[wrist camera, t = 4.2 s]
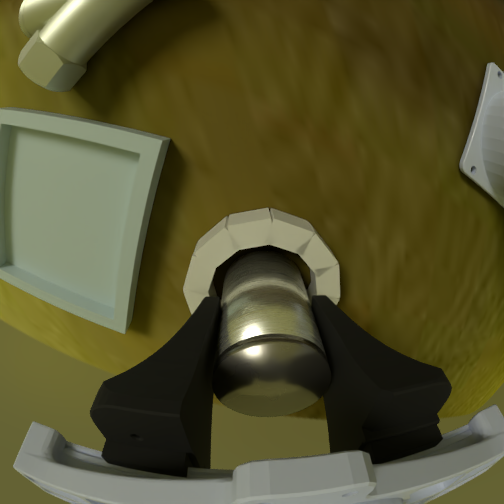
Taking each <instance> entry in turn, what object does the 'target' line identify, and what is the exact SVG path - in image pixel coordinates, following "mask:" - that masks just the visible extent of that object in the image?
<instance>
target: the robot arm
mask: <svg viewBox="0 0 504 504" xmlns="http://www.w3.org/2000/svg"><path fill="white" fill-rule="evenodd" d="M459 165H460V170H461V171H462V173H464V174H465V175H466V176H467V177H469V178H470V179H471V180H472V181H474V182H475V183H476V184H477V185H478V186H480V187H481V188H482V189H483V190H484V191H485V192H487V193H488V194H489V195H490V196H491V197H492V198H493V199H494V200H496V201H497V202H498V203H499V204H500V205H501V206H502V207H503V208H504V73H503V72H502V71H501V70H500V68H499V67H498V66H497V65H496V64H495V63H488V64H487V68H486V73H485V78H484V83H483V87H482V91H481V95H480V99H479V103H478V107H477V111H476V114H475V118H474V121H473V124H472V128H471V131H470V134H469V137H468V140H467V143H466V146H465V149H464V152H463V155H462V157H461V160H460V164H459ZM471 168H472V172H471ZM311 308H312V311H313V314H314V318H315V321H316V324H317V327H318V330H319V334H320V337H321V340H322V344H323V347H324V350H325V354H326V357H327V361H328V364H329V367H330V371H331V381H330V384H329V387H328V389H327V390H326V392H325V393H324V394H323V397H324V403H325V409H326V416H327V423H328V432H329V443H330V453H328V454H321V455H313V456H303V457H292V458H278V459H264V460H255V461H250V462H247V463H244V464H241V465H239V466H238V467H236V469H235V470H221V469H220V470H219V469H210V454H211V424H212V405H213V394H214V392H213V389H212V376H213V367H214V359H215V350H216V341H217V333H218V325H219V316H220V297H214V296H206V297H204V298H203V300H202V301H201V303H200V304H199V306H198V307H197V309H196V310H195V311H194V313H193V314H192V315H191V317H190V318H189V319H188V320H187V322H186V323H185V324H184V325H183V326H182V328H181V329H180V330H179V331H178V332H177V333H176V334H175V335H174V336H173V337H172V338H171V339H170V340H169V341H168V342H167V343H166V344H165V345H164V346H163V347H161V348H160V349H159V350H158V351H157V352H155V353H154V354H153V355H151V356H150V357H148V358H147V359H146V360H144V361H143V362H141V363H139V364H138V365H136V366H134V367H133V368H131V369H129V370H127V371H125V372H123V373H121V374H119V375H117V376H115V377H113V378H110V379H108V380H106V381H104V382H103V384H102V385H101V387H100V389H99V391H98V393H97V395H96V398H95V400H94V402H93V405H92V407H91V410H90V416H91V418H92V420H93V422H94V423H95V425H96V426H97V427H98V429H99V430H100V431H101V433H102V434H103V435H104V437H105V438H106V442H105V445H104V448H103V451H102V452H101V451H97V450H94V449H90V448H87V447H83V446H80V445H77V444H74V443H71V442H68V441H66V440H65V438H64V437H63V436H62V435H61V434H60V433H59V432H58V431H56V430H55V429H52V428H50V427H47V426H44V425H42V424H39V423H37V422H32V425H31V427H30V429H29V431H28V433H27V435H26V438H25V439H24V442H23V444H22V446H21V449H20V451H19V453H18V456H17V458H16V460H15V463H14V466H13V467H14V469H16V470H17V471H18V472H19V473H21V474H22V475H23V476H25V477H26V478H27V479H29V480H30V481H31V482H33V483H34V484H35V485H37V486H38V487H40V488H41V489H42V490H44V491H45V492H47V493H49V494H51V495H53V496H56V497H58V498H60V499H62V500H65V501H67V502H69V503H71V504H425V503H427V502H429V501H431V500H433V499H435V498H438V497H440V496H441V495H444V494H446V493H448V492H450V491H451V490H453V489H455V488H457V487H459V486H461V485H463V484H465V483H466V482H468V481H470V480H472V479H473V478H475V477H477V476H479V475H480V474H482V473H484V472H485V471H487V470H488V469H489V468H490V467H491V466H493V465H494V464H495V463H496V462H498V461H499V460H500V459H501V458H502V457H503V456H504V417H503V416H502V414H501V412H500V410H499V409H498V407H497V405H492V406H490V407H488V408H486V409H484V410H482V411H480V412H478V413H477V414H476V415H475V416H474V417H473V418H472V419H471V420H470V422H469V423H468V424H467V425H465V426H463V427H460V428H458V429H455V430H453V431H450V432H448V433H445V434H443V435H441V433H440V430H439V428H438V426H437V424H438V423H439V421H440V419H439V417H438V415H437V413H438V412H439V410H440V409H441V408H442V406H443V405H444V403H445V402H446V401H447V399H448V397H449V395H450V393H451V389H452V387H451V384H450V382H449V380H448V379H447V377H446V375H445V374H444V372H443V371H442V369H441V368H438V367H434V366H431V365H428V364H425V363H422V362H419V361H417V360H414V359H412V358H409V357H407V356H405V355H403V354H401V353H399V352H397V351H395V350H393V349H391V348H390V347H388V346H386V345H385V344H383V343H381V342H380V341H378V340H377V339H375V338H374V337H372V336H371V335H370V334H368V333H367V332H366V331H364V330H363V329H362V328H361V327H359V326H358V325H357V324H356V323H355V322H354V321H352V320H351V319H350V318H349V317H348V316H347V315H346V314H345V313H344V312H343V311H342V310H341V309H340V308H338V307H337V306H336V305H335V304H334V303H333V302H332V301H331V300H330V299H329V298H328V297H327V296H326V295H312V302H311Z"/></svg>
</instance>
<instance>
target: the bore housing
mask: <svg viewBox="0 0 504 504" xmlns="http://www.w3.org/2000/svg"><path fill="white" fill-rule="evenodd" d="M265 245H272V246H275V247H279V248H282V249H285V250H288V251H291V252H294V253H297V254H299V255H300V257H301V258H302V259H303V260H304V261H305V262H306V264H307V265H308V266H309V267H310V274H311V283H310V285H309V287H308V289H307V291H306V292H307V295H308V298H309V302H310V305H311V302H312V295H326V296H327V297H328V298H329V299H330V300H331V301H332V302H333V303H334V304H335V305H337V303H338V302H339V300H340V299H339V298H340V274H339V264H338V261H337V260H336V258H335V256H334V255H333V253H332V251H331V250H330V248H329V247H328V246H327V244H326V243H325V242H324V240H323V239H322V238H321V237H320V235H319V234H318V233H317V231H316V230H315V229H314V228H313V226H312V225H311V224H310V223H308V221H307V220H304V219H301V218H298V217H296V216H293V215H290V214H287V213H284V212H282V211H279V210H276V209H273V208H271V210H270V212H269V208H264V209H258V210H252V211H247V212H241V213H236V214H231V215H229V217H228V216H226V217H225V218H224V219H223V220H221V221H220V222H219V223H218V224H217V225H216V226H214V227H213V228H212V229H211V230H210V231H209V232H207V233H206V234H205V235H204V236H203V237H202V238H200V239H199V241H198V242H197V245H196V248H195V250H194V253H193V255H192V259H191V262H190V266H189V269H188V273H187V277H186V280H185V284H184V288H183V289H184V290H183V292H184V295H185V298H186V300H187V303H188V306H189V309H190V312H191V314H193V313H194V311H195V310H196V309H197V307H198V306H199V304H200V303H201V301H202V300H203V298H204V297H206V296H214V297H217V293H216V290H215V287H214V283H213V280H212V278H213V275H214V272H215V269H216V268H217V267H218V266H219V265H220V264H222V263H223V262H224V261H225V260H227V259H228V258H229V257H231V256H232V255H233V254H234V253H236V252H237V251H238V250H242V249H247V248H253V247H259V246H265ZM220 308H221V300H220Z"/></svg>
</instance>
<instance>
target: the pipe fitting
mask: <svg viewBox="0 0 504 504" xmlns="http://www.w3.org/2000/svg"><path fill="white" fill-rule="evenodd" d="M152 1H153V0H24V1H23V3H22V5H21V7H20V11H19V24H20V27H21V30H22V31H23V33H24V34H25V35H26V36H27V37H29V38H31V39H30V40H29V41H28V43H27V44H26V45H25V47H24V48H23V49H22V51H21V53H20V56H19V59H18V66H19V67H20V69H21V70H22V72H23V73H24V74H25V75H26V76H27V77H28V78H29V79H30V80H32V81H33V82H35V83H36V84H38V85H39V86H41V87H43V88H46V89H48V90H51V91H56V92H64V91H70V90H71V89H72V87H73V86H74V85H75V84H76V82H77V81H78V80H79V79H80V78H81V77H82V75H83V74H84V73H85V72H86V71H87V62H88V61H89V60H90V58H91V57H92V56H93V55H94V54H95V53H96V52H97V51H98V50H99V49H100V48H101V47H102V46H103V45H104V44H105V43H106V42H107V41H108V40H109V39H110V38H111V37H112V36H113V35H114V34H115V33H116V32H117V31H118V30H119V29H120V28H121V27H123V26H124V25H125V24H126V23H127V22H128V21H129V20H130V19H131V18H133V17H134V16H135V15H136V14H137V13H138V12H140V11H141V10H142V9H143V8H144V7H146V6H147V5H148V4H149V3H151V2H152Z"/></svg>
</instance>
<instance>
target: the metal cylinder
mask: <svg viewBox="0 0 504 504" xmlns="http://www.w3.org/2000/svg"><path fill="white" fill-rule="evenodd" d="M330 381H331V371H330V367H329V364H328V361H327V357H326V354H325V350H324V347H323V344H322V340H321V337H320V334H319V330H318V327H317V324H316V321H315V318H314V314H313V311H312V308H311V305H310V302H309V298H308V295H307V292H306V289H305V286H304V283H303V280H302V277H301V274H300V271H299V269H298V267H297V266H296V264H295V263H294V262H293V261H292V260H291V259H289V258H288V257H287V256H285V255H283V254H281V253H278V252H274V251H269V250H260V251H254V252H250V253H247V254H245V255H243V256H241V257H240V258H238V259H237V260H236V261H234V262H233V263H232V265H231V266H230V267H229V269H228V270H227V272H226V275H225V278H224V285H223V293H222V300H221V308H220V316H219V325H218V333H217V341H216V350H215V359H214V367H213V376H212V389H213V392H214V394H215V395H216V397H217V398H218V400H219V401H220V402H221V403H223V404H224V405H225V406H227V407H228V408H230V409H232V410H234V411H236V412H239V413H242V414H245V415H250V416H257V417H276V416H283V415H288V414H291V413H295V412H298V411H300V410H302V409H305V408H307V407H308V406H310V405H312V404H313V403H315V402H316V401H317V400H318V399H320V398H321V397H322V396H323V394H324V393H325V392H326V390H327V389H328V387H329V384H330Z"/></svg>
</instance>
